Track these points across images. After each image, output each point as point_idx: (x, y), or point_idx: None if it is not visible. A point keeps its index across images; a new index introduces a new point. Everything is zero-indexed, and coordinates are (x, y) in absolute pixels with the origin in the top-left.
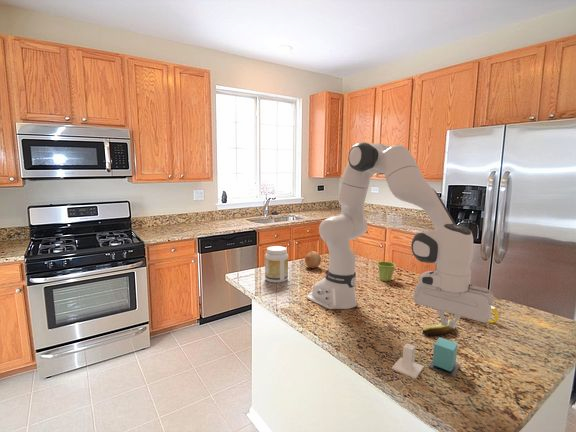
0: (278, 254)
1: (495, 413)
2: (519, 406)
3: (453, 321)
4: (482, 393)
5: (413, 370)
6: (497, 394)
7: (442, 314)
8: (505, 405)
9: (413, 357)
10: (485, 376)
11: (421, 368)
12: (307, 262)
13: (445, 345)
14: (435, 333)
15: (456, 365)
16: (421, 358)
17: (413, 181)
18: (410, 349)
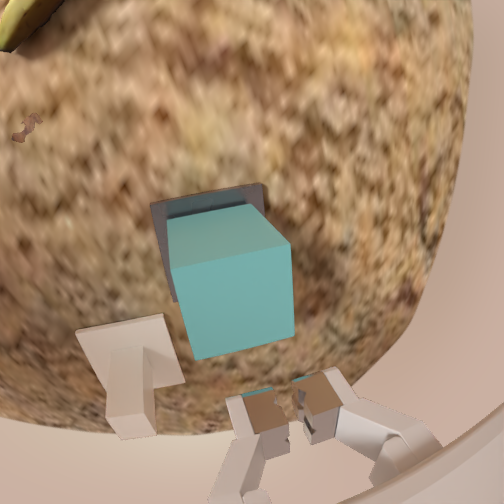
0: None
1: (383, 321)
2: (425, 249)
3: (349, 445)
4: (355, 277)
5: (157, 362)
6: (387, 245)
7: (250, 486)
8: (402, 274)
9: (147, 387)
10: (350, 171)
11: (166, 334)
12: None
13: (246, 328)
14: (55, 5)
15: (252, 200)
16: (116, 261)
17: None
18: (149, 435)
